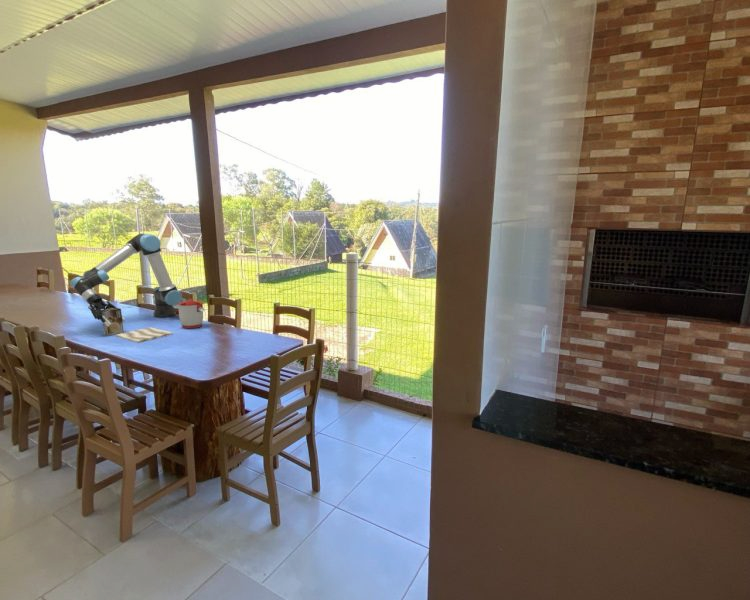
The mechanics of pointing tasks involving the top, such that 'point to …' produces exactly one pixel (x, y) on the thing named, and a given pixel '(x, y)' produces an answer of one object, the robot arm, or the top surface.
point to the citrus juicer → (191, 313)
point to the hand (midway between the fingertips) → (116, 323)
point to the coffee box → (113, 321)
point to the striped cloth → (144, 334)
